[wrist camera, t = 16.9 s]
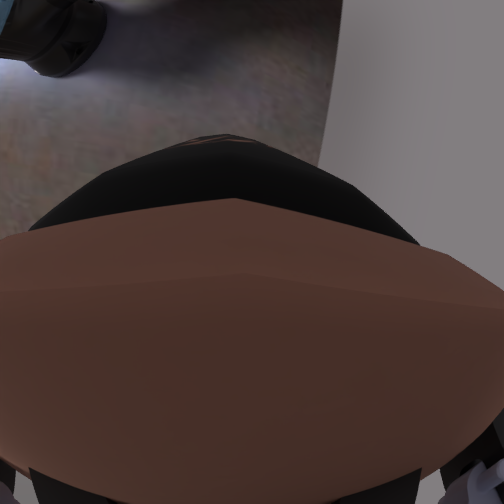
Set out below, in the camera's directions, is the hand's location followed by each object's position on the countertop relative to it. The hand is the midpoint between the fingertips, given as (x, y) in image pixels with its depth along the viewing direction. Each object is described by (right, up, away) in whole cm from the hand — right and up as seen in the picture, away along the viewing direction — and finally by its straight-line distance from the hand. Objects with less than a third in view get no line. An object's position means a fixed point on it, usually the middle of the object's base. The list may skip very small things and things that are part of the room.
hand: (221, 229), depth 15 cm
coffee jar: (0, +2, +4) cm, 4 cm away
